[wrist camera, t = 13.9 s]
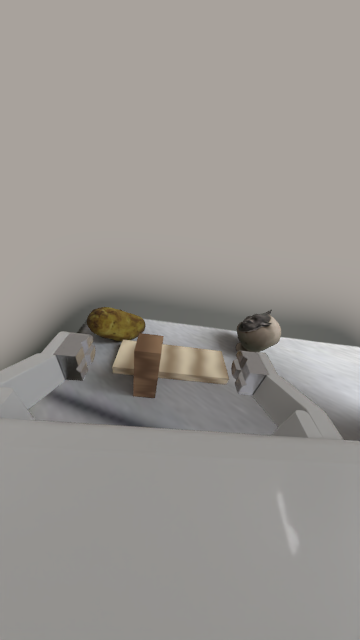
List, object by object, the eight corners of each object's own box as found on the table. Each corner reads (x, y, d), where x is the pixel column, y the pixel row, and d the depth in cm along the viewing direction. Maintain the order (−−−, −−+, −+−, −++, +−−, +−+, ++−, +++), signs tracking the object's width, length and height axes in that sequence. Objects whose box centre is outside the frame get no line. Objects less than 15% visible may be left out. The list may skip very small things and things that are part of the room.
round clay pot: (227, 335, 53) (233, 360, 44) (241, 300, 46) (251, 322, 38) (259, 341, 53) (272, 367, 45) (278, 307, 47) (297, 330, 38)
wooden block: (159, 354, 42) (165, 313, 35) (154, 398, 33) (161, 353, 26) (143, 352, 42) (145, 310, 35) (133, 396, 33) (134, 350, 26)
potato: (143, 349, 43) (144, 323, 38) (86, 346, 40) (80, 318, 36) (145, 327, 49) (147, 303, 45) (96, 324, 47) (93, 298, 43)
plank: (219, 356, 45) (221, 351, 44) (226, 384, 38) (228, 378, 37) (123, 345, 42) (122, 339, 41) (112, 373, 36) (112, 366, 35)
